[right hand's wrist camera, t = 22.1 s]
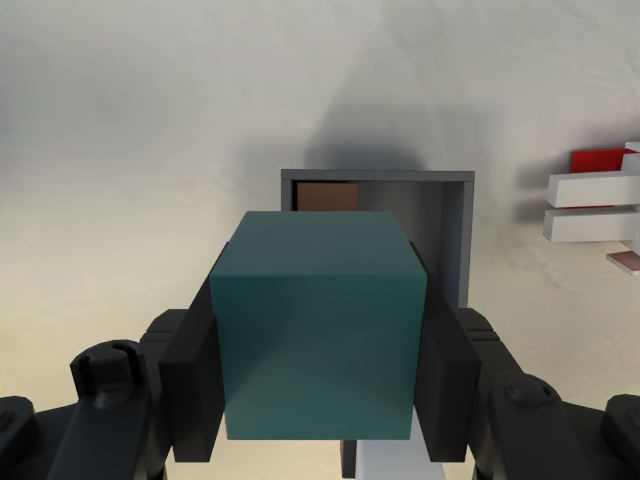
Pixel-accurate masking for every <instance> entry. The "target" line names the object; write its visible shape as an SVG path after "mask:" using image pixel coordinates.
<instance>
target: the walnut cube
mask: <svg viewBox="0 0 640 480" xmlns="http://www.w3.org/2000/svg"><path fill="white" fill-rule="evenodd" d="M297 211H357V183H297Z"/></svg>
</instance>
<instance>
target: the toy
mask: <svg viewBox="0 0 640 480" xmlns="http://www.w3.org/2000/svg"><path fill="white" fill-rule="evenodd" d="M547 202H549V203H550V204H551V205H553V206H554V207H555V208H556V207H567V209H562V210H546V211H545V219H544V228H543V236H544V237H545V238H546V239H548V240H549V241H550V242H551V243H555V242H586V241H617V240H618V241H619V242H620V243H622V244H623V245H625V246H626V247H628V248H629V249H631V250H632V251H626V252H619V253H613V254H607V256H606V259H607V260H609V261H610V262H612V263H613V264H615V265H616V266H618V267H619V268H621V269H622V270H624V271H625V272H627V273H628V274H630V275H631V276H640V142H626V144H625V148H618V149H605V150H591V151H578V152H573V156H572V165H571V173H570V174H557V175H550V177H549V186H548V194H547Z"/></svg>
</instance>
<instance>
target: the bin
mask: <svg viewBox="0 0 640 480" xmlns="http://www.w3.org/2000/svg"><path fill="white" fill-rule="evenodd" d="M281 179H282V180H281V211H297V183H357V211H391V212H392V213H393V215H394V216H395V218H396V220H397V222H398V224H399V225H400V227H401V229H402V231H403V233H404V234H405V236H406V238H407V240H408V242H413V243H414V245H415V247H416V249H417V250H418V252H419V254H420V256H421V257H422V259H423V261H424V262H425V264H426V266H427V268H428V269H429V271H430V273H431V275H432V276H433V278H434V280H435V282H436V283H437V285H438V287H439V288H440V290H441V292H442V294H443V295H444V297H445V299H446V301H447V302H448V304H449V306H450V308H467V302H468V284H469V267H470V249H471V232H472V214H473V197H474V179H475V171H402V170H308V169H281ZM340 452H341V467H342V478H352V479H355V472H356V454H357V440H340Z"/></svg>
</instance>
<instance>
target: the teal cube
mask: <svg viewBox="0 0 640 480" xmlns="http://www.w3.org/2000/svg"><path fill="white" fill-rule="evenodd" d="M210 285H211V294H212V303H213V313H214V315H216V317H217V327H218V336H219V346H220V355H221V364H222V374H223V383H224V393H225V402H226V406H225V409H224V414H225V423H226V432H227V439H228V440H410V436H411V426H412V417H413V408H414V397H415V388H416V378H417V369H418V359H419V350H420V340H421V331H422V322H423V313H424V304H425V294H426V285H427V274H426V272H425V271H424V269H423V267H422V265H421V263H420V262H419V260H418V258H417V256H416V254H415V253H414V251H413V249H412V247H411V245H410V244H409V242H408V240H407V238H406V236H405V234H404V233H403V231H402V229H401V227H400V225H399V224H398V222H397V220H396V218H395V216H394V215H393V213H392V212H391V211H247V212H246V213H245V215H244V217H243V219H242V220H241V222H240V224H239V226H238V227H237V229H236V231H235V232H234V234H233V236H232V238H231V239H230V241H229V243H228V245H227V246H226V248H225V250H224V251H223V253H222V255H221V257H220V258H219V260H218V262H217V264H216V265H215V267H214V269H213V270H212V272H211V274H210Z"/></svg>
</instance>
